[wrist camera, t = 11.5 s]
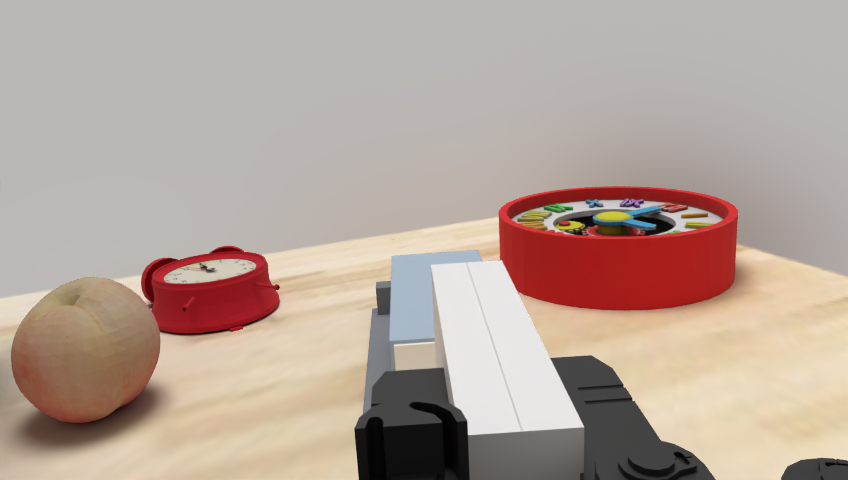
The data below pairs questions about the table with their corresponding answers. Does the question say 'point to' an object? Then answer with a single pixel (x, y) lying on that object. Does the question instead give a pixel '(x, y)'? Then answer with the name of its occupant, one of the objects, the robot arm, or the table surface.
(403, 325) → the blue-grey rectangular block
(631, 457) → the robot arm
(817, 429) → the table surface
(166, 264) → the alarm clock
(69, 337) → the fruit
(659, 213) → the toy clock
